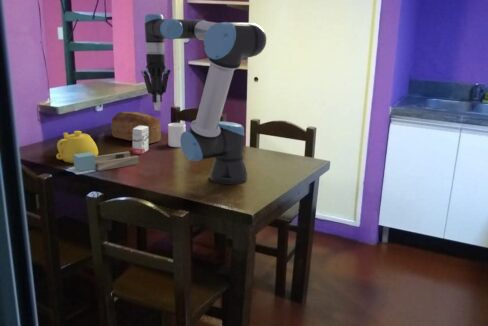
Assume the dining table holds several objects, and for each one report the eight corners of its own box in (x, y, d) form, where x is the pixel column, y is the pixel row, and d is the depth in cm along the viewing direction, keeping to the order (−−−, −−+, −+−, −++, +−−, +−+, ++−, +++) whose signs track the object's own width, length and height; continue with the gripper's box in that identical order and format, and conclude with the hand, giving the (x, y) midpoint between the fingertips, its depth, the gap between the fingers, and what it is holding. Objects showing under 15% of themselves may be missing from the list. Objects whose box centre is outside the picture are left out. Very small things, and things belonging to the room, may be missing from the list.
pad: (95, 171, 205) (95, 171, 205) (76, 174, 200) (76, 174, 200) (86, 165, 213) (86, 164, 212) (68, 168, 208) (68, 167, 208)
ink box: (142, 154, 231) (141, 129, 228) (132, 153, 232) (131, 128, 229) (149, 149, 240) (148, 125, 236) (139, 148, 241) (138, 125, 237)
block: (95, 168, 207) (94, 155, 205) (78, 171, 203) (77, 157, 201) (90, 165, 211) (89, 152, 209) (74, 168, 207) (73, 154, 205)
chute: (138, 164, 217) (138, 156, 215) (99, 170, 206) (98, 162, 205) (128, 158, 224) (128, 151, 223) (90, 164, 213) (89, 157, 212)
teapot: (105, 159, 222) (104, 131, 219) (66, 167, 209) (64, 138, 205) (82, 150, 235) (80, 124, 232) (44, 157, 222) (41, 130, 218)
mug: (192, 143, 254) (192, 122, 251) (179, 148, 244) (179, 127, 240) (178, 141, 257) (177, 120, 254) (165, 146, 247) (164, 125, 244)
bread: (149, 146, 246) (148, 118, 242) (108, 138, 259) (106, 111, 255) (164, 141, 256) (164, 114, 252) (124, 133, 269) (123, 107, 265)
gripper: (164, 52, 210) (166, 107, 216) (136, 53, 202) (139, 110, 208) (173, 53, 204) (175, 109, 211) (145, 54, 196) (148, 112, 203)
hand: (157, 109), depth 209 cm, fingers closed
